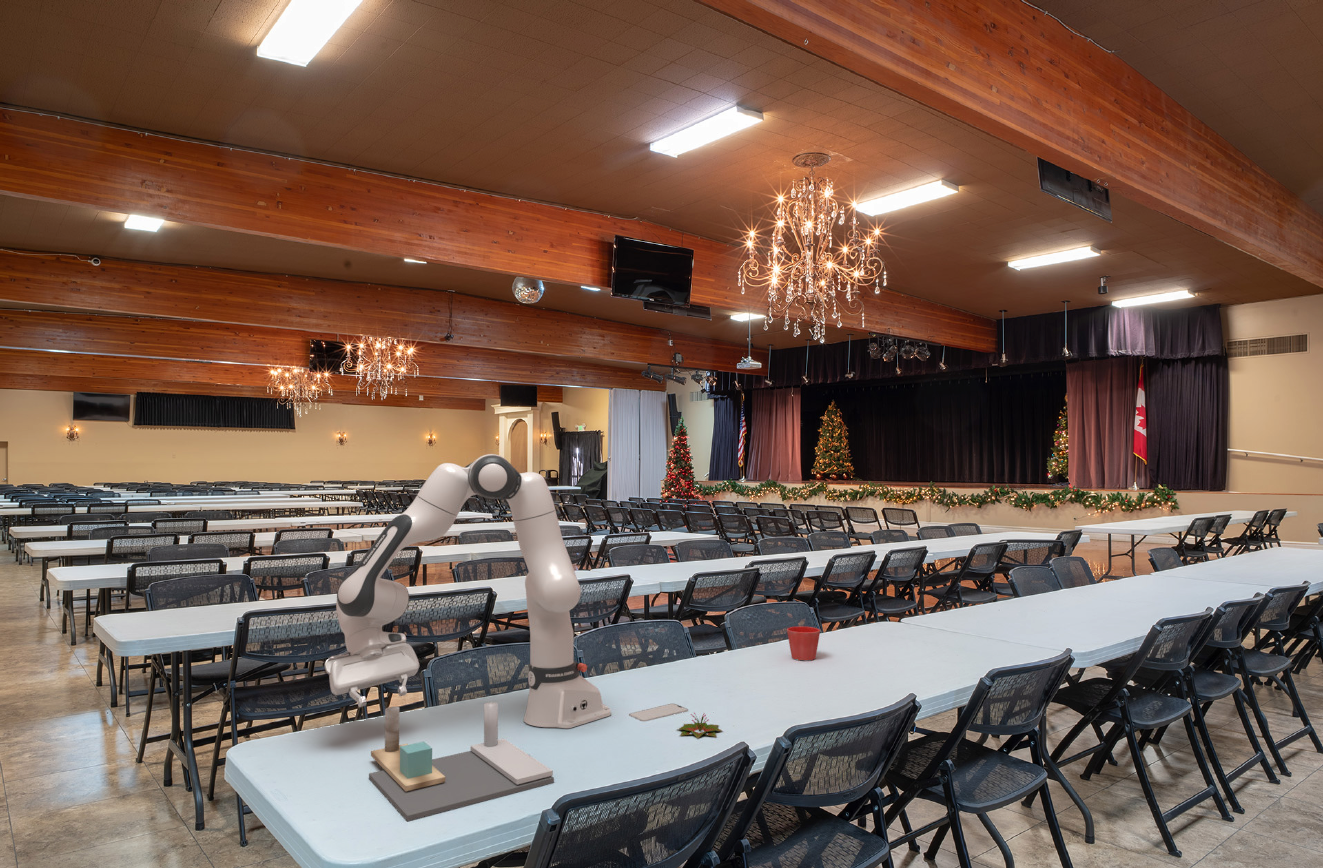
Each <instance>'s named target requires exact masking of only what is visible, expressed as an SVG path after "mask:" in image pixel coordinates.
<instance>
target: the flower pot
mask: <svg viewBox="0 0 1323 868" xmlns="http://www.w3.org/2000/svg"><path fill="white" fill-rule="evenodd" d="M786 632H787V638H788V645H789V650H790V654H791V658H792V660H795V659H798V660H797V661H800V660H805V661H804V662H807V661H806V660H811V661H814V660H815V659H816V658H817V657H816V656H817V652H818V647H819V641H820V634H821V630H820V629H819V628H817V627H813V626H812V627H811V626H791V627H788V628H787V629H786ZM813 659H814V660H813Z"/></svg>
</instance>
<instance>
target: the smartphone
mask: <svg viewBox="0 0 1323 868" xmlns="http://www.w3.org/2000/svg"><path fill="white" fill-rule="evenodd" d="M682 712H683V713H688V712H689V709H688V708H686V707H683V706H681V705H678V704H676V703H667V704H664V705H660V706H655V707H651V708H648V709H647V708H646V709H642V710H639V711H635V712H630V713H628V716H629V717H631V718H634V719H635V720H638V721H640V722H648V721H652V720H653V721H654V720H657V719H662V718H665V717H669V716H670V717H671V716H675V715H679V714H682ZM674 714H675V715H674Z"/></svg>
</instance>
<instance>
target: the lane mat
mask: <svg viewBox="0 0 1323 868" xmlns="http://www.w3.org/2000/svg"><path fill="white" fill-rule="evenodd" d="M432 766H434V767H435V768H436V769H437V770H438V771H439V772H440V773H442V774H443V775H444V776H445V782H443V783H439V784H434V785H430V786H426V787H422V788H418V789H414V790H410V791H405V790H404V789H403V788H402V787H401V786H400V785H399V784H398V783H397V782H396V781H395V780H394V779H393V778H392V777H391V776H390V775H389V774H388V773H387V772H386V771H385V770H384V769H383V770H378V771H374V772H370V773H368V779H369V780H370V781H371V782H372V784H373V785H374V786H375V787H376V788H377V790H378V791H380V792H381V794H382V795H383V796H384V797H385V798H386V800H388V802H390V804H391V805H392V806H393V807H394V809H396V811H397V812H399V814H400V815H401V816H402V817H403V818H404V820H406V822H411V821H414V820H418V819H417V818H419V819H422V818H425V817H424V816H426V817H429V815H430V816H433V815H432V814H434V815H437V814H440V812H441V813H445V812H448V810H449V811H452V810H451V809H453V810H456V809H460V808H463V807H467V806H471V805H475V804H479V803H482V802H486V801H490V800H494V799H497V798H501V797H505V796H509V795H512V794H517V793H520V792H524V791H527V790H531V789H535V788H539V787H543V786H547V785H550V784H554V783H555V778H554V777H553V776H549V777H545V778H541V779H537V780H533V781H529V782H526V783H522V784H518V785H517V784H515V783H514V782H513V781H511V780H510V779H509V778H507V777H506V776H504V775H503V774H502V773H500V772H499V771H498V770H496V769H495V768H494V767H492V766H491V765H490V764H488V763H487V762H486V761H484V760H483V759H482V758H480V757H479V756H478V755H476V754H475V753H473V752H472V751H471V750H467V751H463V752H460V753H459V752H458V753H455V754H451V755H446V756H441V757H437V758H434V759H433V758H432Z"/></svg>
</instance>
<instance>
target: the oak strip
mask: <svg viewBox="0 0 1323 868" xmlns="http://www.w3.org/2000/svg"><path fill="white" fill-rule="evenodd" d="M405 745H409V744H408V743H402V744H400V707H399V706H389V707H386V708H384V748H379V749H374V750H371V751H370V756H371V757H372V759H374V761H375V762H376V763H377V764H379V766H380V767H381V768H382V769H383V770H385V771H386V772H387V773H388V774H389V775H390V776H391V777H392V778H393V779H394V780H395V781H396V782H397V783H398V784H399V785H400V786H401V787H402V788H403V789H404V790H405V791H410V790H414V789H418V788H422V787H426V786H430V785H434V784H439V783H443V782H445V776H444V775H443V774H442V773H440V772H439V771H438V770H437V769H436V768H435V767H434V766H432V773H431V774H426V775H422V776H418V777H413V778H409V779H407V778H406V777H405V776H404V775H403V774H402V773H401V772H400V746H405Z"/></svg>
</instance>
